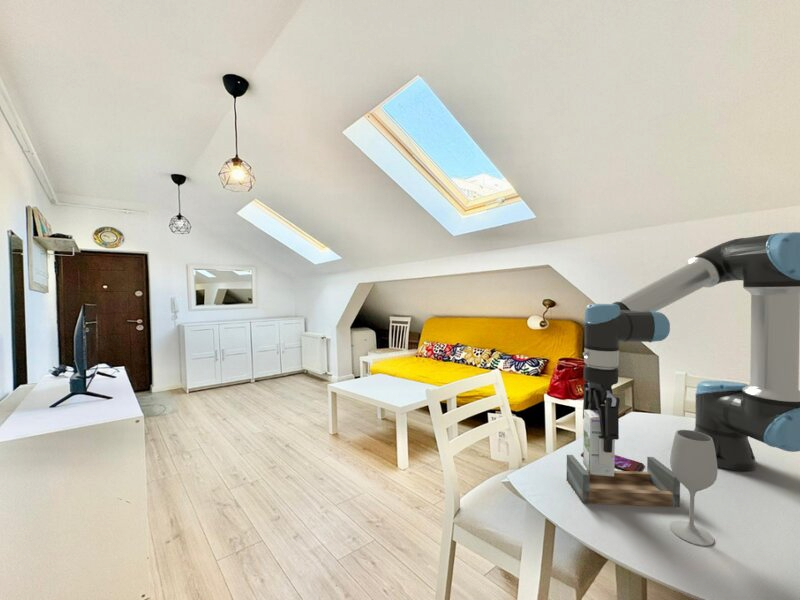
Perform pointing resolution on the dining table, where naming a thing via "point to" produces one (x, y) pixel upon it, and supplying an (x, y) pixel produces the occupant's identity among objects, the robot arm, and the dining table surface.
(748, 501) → the dining table surface
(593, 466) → the syrup box
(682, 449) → the wineglass
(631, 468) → the smartphone
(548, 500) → the dining table surface
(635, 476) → the track
